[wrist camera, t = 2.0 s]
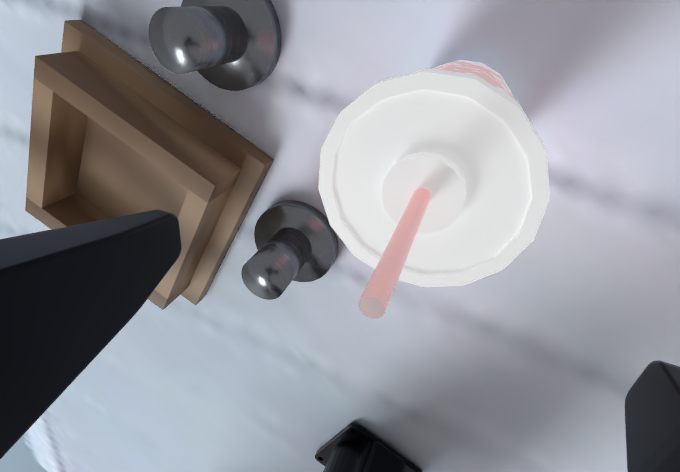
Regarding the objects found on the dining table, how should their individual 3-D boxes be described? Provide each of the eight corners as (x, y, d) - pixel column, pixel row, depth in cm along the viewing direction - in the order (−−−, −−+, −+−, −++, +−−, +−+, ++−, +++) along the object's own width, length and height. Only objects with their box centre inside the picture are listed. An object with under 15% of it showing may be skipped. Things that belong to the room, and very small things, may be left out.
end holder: (204, 297, 30) (172, 328, 27) (59, 191, 30) (11, 212, 27) (273, 159, 23) (239, 182, 20) (80, 19, 23) (18, 22, 20)
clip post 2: (314, 288, 26) (282, 334, 23) (249, 241, 26) (207, 280, 23) (353, 236, 23) (324, 279, 20) (281, 183, 23) (239, 217, 20)
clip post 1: (257, 107, 22) (206, 129, 18) (179, 50, 22) (112, 61, 18) (298, 13, 19) (247, 17, 15) (207, -52, 19) (135, -64, 15)
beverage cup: (553, 152, 18) (626, 428, 6) (421, 197, 21) (311, 438, 9) (506, 9, 16) (494, 38, 5) (369, 80, 19) (155, 204, 8)
